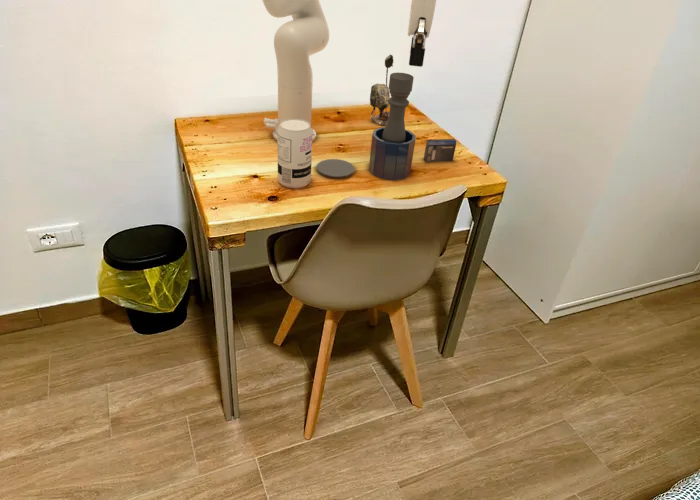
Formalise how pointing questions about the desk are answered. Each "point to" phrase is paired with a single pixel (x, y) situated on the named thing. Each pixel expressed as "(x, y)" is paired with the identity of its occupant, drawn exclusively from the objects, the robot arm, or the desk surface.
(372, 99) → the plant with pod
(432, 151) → the mini dv tape
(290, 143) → the supplement can
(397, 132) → the candle holder
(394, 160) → the crock
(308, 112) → the robot arm
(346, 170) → the coaster
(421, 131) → the desk surface
